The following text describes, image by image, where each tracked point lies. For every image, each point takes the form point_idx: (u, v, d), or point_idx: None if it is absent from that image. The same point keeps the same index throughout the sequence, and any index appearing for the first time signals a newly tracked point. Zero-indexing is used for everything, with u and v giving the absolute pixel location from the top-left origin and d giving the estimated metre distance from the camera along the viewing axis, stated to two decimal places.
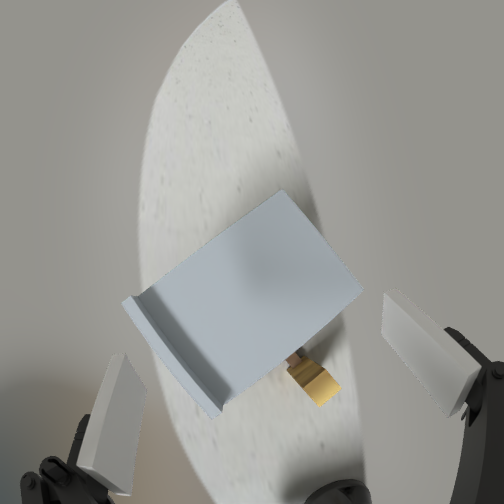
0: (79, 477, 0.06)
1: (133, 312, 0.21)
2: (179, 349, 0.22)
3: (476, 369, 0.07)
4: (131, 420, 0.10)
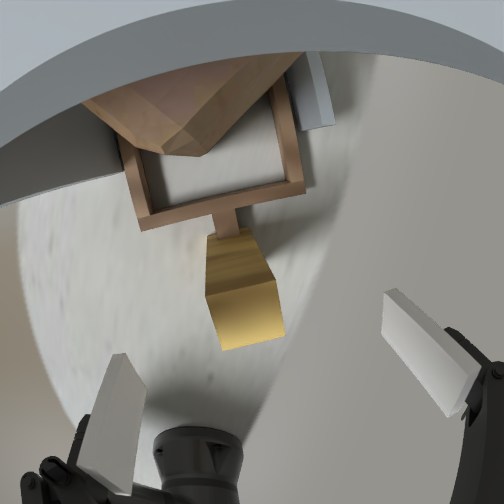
0: (79, 477, 0.06)
1: None
2: None
3: (476, 369, 0.07)
4: (131, 420, 0.10)
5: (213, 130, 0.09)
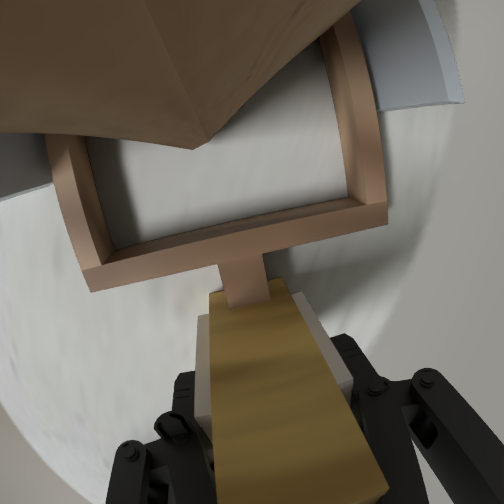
0: (199, 437, 0.08)
1: None
2: None
3: (345, 381, 0.08)
4: None
5: None
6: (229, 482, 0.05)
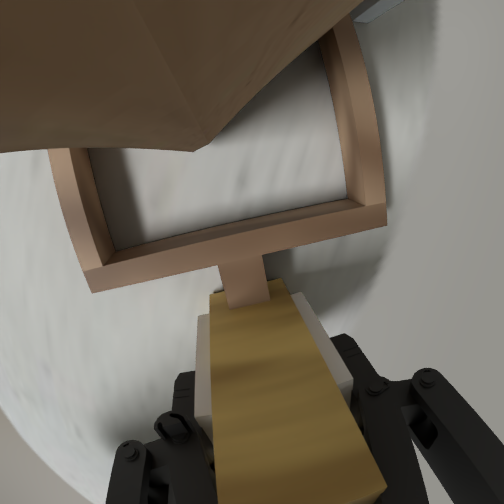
0: (199, 437, 0.08)
1: None
2: None
3: (345, 381, 0.08)
4: None
5: None
6: (229, 480, 0.05)
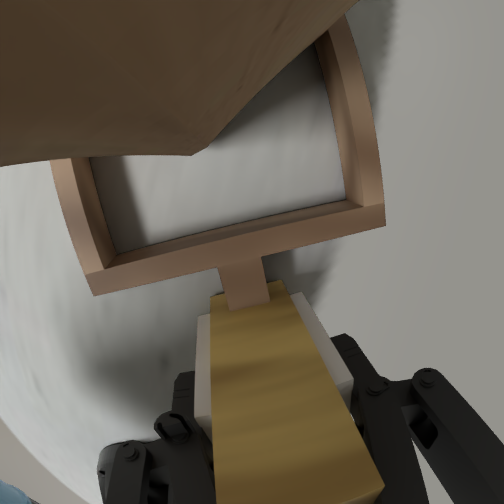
0: (199, 437, 0.08)
1: None
2: None
3: (345, 380, 0.08)
4: None
5: None
6: (228, 479, 0.05)
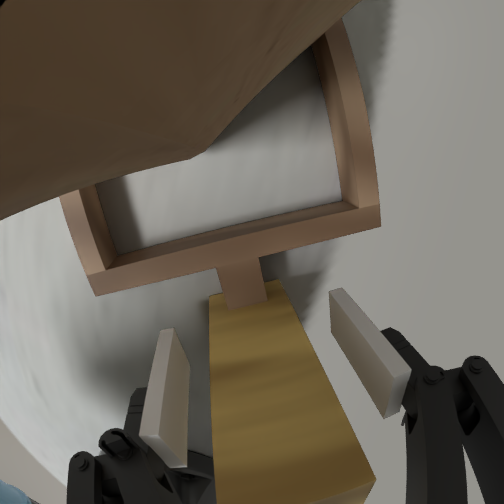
0: (142, 452, 0.07)
1: None
2: None
3: (404, 372, 0.08)
4: (182, 392, 0.11)
5: None
6: (227, 472, 0.06)
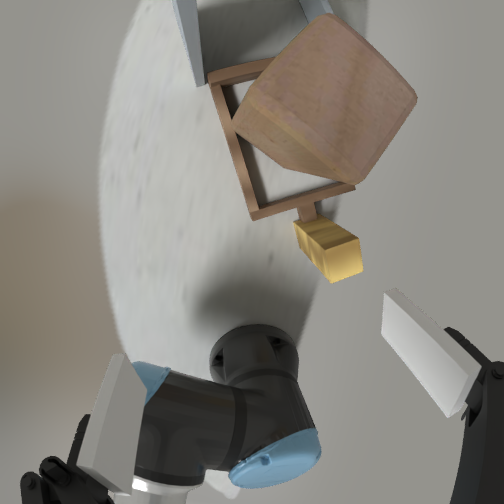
0: (79, 477, 0.06)
1: None
2: None
3: (476, 369, 0.07)
4: (131, 420, 0.10)
5: None
6: (322, 244, 0.29)
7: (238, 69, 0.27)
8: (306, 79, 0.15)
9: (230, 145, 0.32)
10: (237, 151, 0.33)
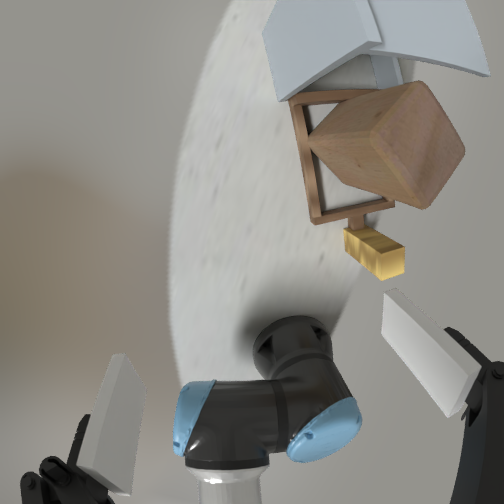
0: (79, 477, 0.06)
1: None
2: None
3: (476, 369, 0.07)
4: (132, 420, 0.10)
5: None
6: (377, 249, 0.35)
7: (320, 95, 0.33)
8: (407, 133, 0.20)
9: (305, 159, 0.38)
10: (310, 164, 0.38)
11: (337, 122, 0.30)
